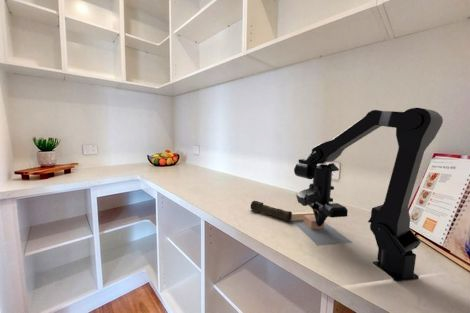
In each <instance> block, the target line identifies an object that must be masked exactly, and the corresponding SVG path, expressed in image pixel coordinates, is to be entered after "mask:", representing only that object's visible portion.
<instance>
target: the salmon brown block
mask: <svg viewBox="0 0 470 313" xmlns="http://www.w3.org/2000/svg"><path fill="white" fill-rule="evenodd" d="M304 224H305V225H306V226H308V227H309V228H310V229H324V223H323V224H322V226H317V223H316V219H315V215H304Z"/></svg>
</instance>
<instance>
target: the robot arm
mask: <svg viewBox="0 0 470 313" xmlns="http://www.w3.org/2000/svg"><path fill="white" fill-rule="evenodd" d="M443 121H444V118H443V116H442V115H441V114H440V113H439V112H438V111H435V110H433V109H427V108H422V107H411V108H409V109H406V110H405V111H391V110H387V111H386V110H379V109H373V110H370V111H368V112H367V113H366V114H365V116H363V117H362V118H360V119H359V120H358V121H356V122H355V123H353V124H351V125H350V126H349V127H348V128H346V129H344V131H342V132H341V133H340V134H338V135H336V136H335V137H334V138H332V139H330V140H326V141H323V142H321V143H320V144H317V145H315V146H314V147H313V148H312V149H311V153H310V154H309V155H308V157H307V158H306V159H303V158H301V159H298V162H297V163H295V167H294V169H293V172H294V175H295V176H296V177H298V178H302V179H307V180H312V183H310V184H309V185H308V188H307V189H303V190H301V191H298V192H296V193H295V197H296V200H297V203H298V204H300V205H301V206H303V207H306V206H307V207H310V208H311V209H312V212H314V215H315V219H316V223H317V226H322V224H323V223H324V222H325V221H326V219H327V218H328V217H329V218H345V217H348V208H347V207H346V206H344V205H342V204H340V203H337V202H335V203H333V202H334V198H333V197H331V192H332V191H333V190H335V186H333V185H332V181H333V180H332V178H333V172H338V171H340V169H339V168H338V166H337V165H335V163H334V161H335V160H337V159H338V158H339V157H341V155H342V153H343V152H344V150H346V149H347V148H348V147H351V146H352V145H354V144H355V143H357V142H358V141H360V140H362V139H363V138H365V137H366V136H368V135H369V134H371V133H373V132H374V131H376V130H377V129H379V128H380V127H387V128H395V129H396V131H395V137H396V141H397V146H398V150H397V153H396V157H395V159H394V160H395V161H394V163H393V168H392V172H391V176H390V179H389V182H388V183H389V184H388V187H387V190H386V194H385V197H384V198H385V199H384V201H383V204H381V205H377V206H375V207H372V208H371V210H370V218H369V219H368V221H367V223H370V224H369V228H370V231H371V232H372V234H373V236H374V239H375V242H376V246H377V249H378V250H377V258H376V259H377V261H373V263H372V264H373V265H375V266H376V267H378V268H379V269H380V270H381V271H382V272H384V273H386V274H387V275H388V276H389V277H391V278H392V280H393V281H395V282H397V283H399V282H405V281H413V280H419V277H420V276H419V275H417V274H416V273H415V268H416V260H417V259H416V258H417V254H415V253H414V251H413V250H415V249H417V248H418V247H419V246H420V244H421V243H422V242H421V240H420V239H419V238H418V236H416V234H415V233H414V232H413V230H411V229H410V226H411V224H410V223H411V216H410V211H409V205H410V201H411V198H412V195H413V191H414V187H415V184H416V180H417V177H418V174H419V172H420V168H421V164H422V160H423V158H424V154H425V151H426V149H427V148H428V147H429V146H430V144H431V143H432V142H433V141H434V139H435V138H436V136H437V135H438V133H439V131H440V129H441V127H442V126H443ZM326 163H328V164H326Z"/></svg>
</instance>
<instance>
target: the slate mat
mask: <svg viewBox="0 0 470 313" xmlns="http://www.w3.org/2000/svg"><path fill="white" fill-rule="evenodd" d="M304 215H314V212H313V211H302V212H301V211H297V212H292V216H291V220H290V222H292V223H293V224H295V226H296V227H298V228H299V230H301V231H302V232H303V233H304V234H305V235H306V236H307V237H308V238H309V239H310V240H311V241H312V242H313V243H314V244H315V245H316V246H317V247H319V246H325V245H326V246H327V245H329V246H330V245H337V244H348V243H351V244H352V243H353V241H351V240H350V239H348V237H346V236H344V234H342V233H340V232H339V231H338V230H336V229H335V228H333V227H332V226H331V225H329V224H328V223H326V222H325V221H324V229H310V228H309V227H308V226H306V225H305V224H304Z"/></svg>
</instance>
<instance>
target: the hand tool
mask: <svg viewBox="0 0 470 313" xmlns="http://www.w3.org/2000/svg"><path fill="white" fill-rule="evenodd" d="M250 210H252V211H254V212H255V213H257V214H265V215H268V216H272V217H275V218H277V219H281V220H284V221H286V222H287V223H289V222H291V216H292V213H293V212H292V211H290V210H289V211H288V210H284V209H281V208H278V207H277V208H275V207H273V206H270V205H266V204H264V202H262V201H258V200H253V201H251V203H250Z"/></svg>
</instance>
